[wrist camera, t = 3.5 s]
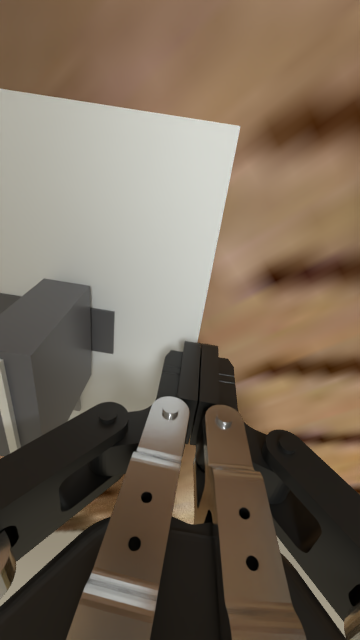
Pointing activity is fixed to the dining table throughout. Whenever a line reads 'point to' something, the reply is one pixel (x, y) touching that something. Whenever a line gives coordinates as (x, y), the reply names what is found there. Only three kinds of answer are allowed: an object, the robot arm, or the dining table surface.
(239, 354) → the dining table surface
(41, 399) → the fader tab
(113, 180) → the console board
